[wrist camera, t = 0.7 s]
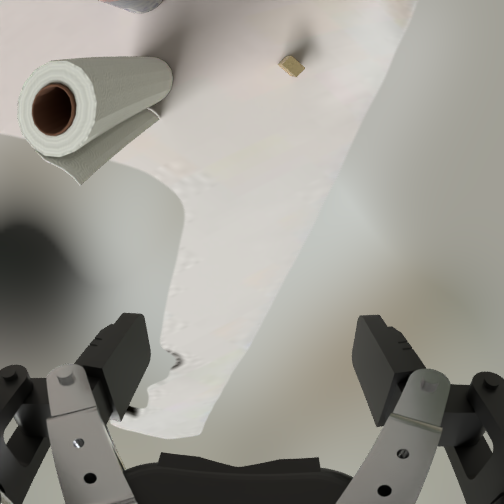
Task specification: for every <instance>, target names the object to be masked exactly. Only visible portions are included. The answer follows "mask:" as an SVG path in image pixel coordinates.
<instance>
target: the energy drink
mask: <svg viewBox="0 0 504 504" xmlns="http://www.w3.org/2000/svg"><path fill="white" fill-rule="evenodd" d="M99 1H102V2H105V3H108V4H110V5H113V6H116V7H119V8H122V9H124V10H127V11H130V12H133V13H146V12H149V11H151V10H153V9H154V8H156V7H157V6H158V5H159V4H160V3H161V2H162V0H99Z"/></svg>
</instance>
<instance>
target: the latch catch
mask: <svg viewBox="0 0 504 504" xmlns="http://www.w3.org/2000/svg"><path fill="white" fill-rule="evenodd" d="M278 65H279V66H280V67H281V68H282V69H284V70H285V71H286V72H287V73H288V74H289V75H290V76H294V77H297V76H298V75H299V74H300V73H301V72H302V71H303V70H304V69H305V67H303V66H302V65H301V64H300V63H299V62H298V61H297V60H296V59H294V58H293V57H292V56H286V57H285V58H284V59H283V60H282V61H281V62H280V63H279V64H278Z"/></svg>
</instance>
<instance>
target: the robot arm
mask: <svg viewBox="0 0 504 504" xmlns="http://www.w3.org/2000/svg"><path fill="white" fill-rule="evenodd" d="M150 356H151V353H150V345H149V340H148V334H147V329H146V323H145V318H144V316H143V315H142V314H136V313H123V314H122V315H121V316H120V317H119V319H118V320H117V321H116V322H115V323H114V324H111V325H109V326H107V327H106V328H104V329H102V330H101V331H100V332H99V333H98V335H97V336H96V337H95V339H94V340H93V341H92V342H91V343H90V346H88V347H87V348H86V349H85V351H84V352H83V353H82V354H81V356H80V357H79V358H78V360H77V361H76V362H75V363H74V364H64V365H60V366H58V367H56V368H54V369H53V370H52V371H51V372H50V373H49V374H48V376H47V378H30V376H29V374H28V372H27V370H26V368H25V367H23V366H21V365H10V366H7V367H5V368H3V369H1V370H0V504H22V503H23V500H24V498H25V496H26V494H27V492H28V490H29V488H30V486H31V483H32V481H33V479H34V477H35V475H36V473H37V471H38V469H39V467H40V465H41V463H42V461H43V459H44V457H45V455H46V453H47V451H48V449H49V447H50V445H51V449H52V454H53V458H54V462H55V467H56V471H57V474H58V479H59V483H60V486H61V490H62V493H63V497H64V500H65V503H66V504H415V503H416V501H417V498H418V496H419V494H420V492H421V489H422V487H423V484H424V482H425V479H426V477H427V474H428V472H429V469H430V466H431V463H432V460H433V458H434V455H435V452H436V449H437V446H444V448H445V450H446V452H447V455H448V457H449V459H450V462H451V464H452V467H453V469H454V472H455V474H456V477H457V479H458V482H459V485H460V487H461V490H462V492H463V495H464V498H465V501H466V503H467V504H504V379H503V378H501V376H499V375H497V374H495V373H492V372H480V373H477V374H476V375H475V376H474V377H473V379H472V382H471V384H470V385H454V384H450V381H449V379H448V378H447V377H446V376H445V375H444V374H443V373H441V372H439V371H436V370H433V369H426V367H425V366H424V364H423V363H422V361H421V360H420V358H419V357H418V356H417V354H416V353H415V351H414V350H413V349H412V347H411V345H410V344H409V343H407V340H406V338H405V337H404V336H403V334H402V333H401V332H399V331H398V330H396V329H395V328H393V327H387V325H386V324H385V322H384V321H383V319H382V318H381V316H380V315H364V316H359V318H358V321H357V328H356V333H355V339H354V345H353V350H352V362H353V367H354V369H355V372H356V374H357V377H358V379H359V382H360V384H361V387H362V390H363V392H364V395H365V398H366V400H367V403H368V406H369V408H370V411H371V414H372V416H373V419H374V421H375V424H376V426H377V427H380V426H384V427H383V429H382V430H381V432H380V434H379V436H378V438H377V439H376V441H375V443H374V445H373V447H372V448H371V450H370V452H369V453H368V455H367V457H366V458H365V460H364V462H363V463H362V465H361V466H360V468H359V470H358V471H357V473H356V474H355V476H354V477H352V476H349V475H347V474H344V473H342V472H339V471H335V470H331V469H326V468H320V463H319V458H318V457H317V458H304V459H303V458H302V459H279V460H275V461H270V462H265V463H260V464H255V465H250V466H244V467H234V466H230V465H226V464H222V463H219V462H215V461H211V460H208V459H204V458H201V457H196V456H186V455H178V454H170V453H163V452H161V455H160V458H159V461H158V462H157V463H148V464H143V465H139V466H135V467H132V468H129V469H127V470H126V468H125V466H124V464H123V462H122V460H121V458H120V456H119V453H118V451H117V449H116V447H115V444H114V442H113V440H112V437H111V435H110V432H109V430H108V428H107V426H106V424H107V422H108V420H109V419H110V420H115V421H120V422H121V421H122V419H123V416H124V414H125V412H126V410H127V408H128V406H129V404H130V402H131V399H132V397H133V395H134V393H135V391H136V389H137V387H138V385H139V383H140V381H141V379H142V377H143V375H144V373H145V371H146V369H147V367H148V364H149V362H150ZM13 417H14V419H15V421H16V422H17V424H18V427H17V429H16V430H15V431H14V433H13V435H12V436H11V438H10V439H9V441H8V443H7V444H5V442H4V438H3V434H4V430H5V428H6V427H7V425H8V424H9V422H10V421H11V419H12V418H13ZM485 431H487V432H488V435H489V436H490V438H491V440H492V442H493V453H492V451H491V450H490V448H489V446H488V444H487V442H486V440H485V438H484V436H483V434H484V433H485Z"/></svg>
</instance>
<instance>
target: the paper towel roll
mask: <svg viewBox="0 0 504 504" xmlns="http://www.w3.org/2000/svg"><path fill="white" fill-rule="evenodd" d="M172 82H173V76H172V71H171V69H170V67H169V66H168V65H167V63H166V62H164V61H163V60H161V59H159V58H155V57H91V58H76V59H64V60H54V61H50V62H48V63H46V64H44V65H43V66H41V67H39V68H37V69H35V71H34V72H33V73H32V74H31V75H30V77H29V78H28V79H27V80H26V82H25V83H24V85H23V88H22V91H21V93H20V96H19V99H18V113H17V119H18V122H19V126H20V129H21V132H22V135H23V136H24V138H25V139H26V140H27V142H28V143H29V144H30V145H31V147H32V148H33V149H34V150H35V151H36V152H37V153H38V154H39V155H40V157H41V158H42V159H43V160H44V161H46V162H48V163H50V164H52V165H55V166H57V167H59V168H61V169H63V170H64V171H65V172H67V173H68V174H69V175H70V176H72V177H73V178H74V179H75V180H76V182H77V183H78V184H79V185H80V186H81V185H82V184H83V183H84V182H85V181H86V180H87V179H88V178H89V177H90V176H91V175H93V173H95V172H96V171H97V170H98V169H99V168H100V167H101V166H103V165H104V164H105V163H106V162H107V161H108V160H109V159H111V158H112V157H113V156H114V155H115V154H116V153H118V152H119V151H120V150H121V149H122V148H124V147H125V146H126V145H127V144H129V143H130V142H131V141H132V140H134V139H135V138H136V137H137V136H139V135H140V134H141V133H142V132H144V131H145V130H146V129H148V128H149V127H150V126H151V125H153V124H154V123H155V122H157V121H158V120H159V118H158V116H157V115H156V114H154V113H153V112H152V111H151V110H149V109H147V108H148V107H150V106H152V105H154V104H156V103H158V102H159V101H161V100H162V99H163V98H165V97H166V96H167V94H168V93H169V91H170V90H171V87H172Z"/></svg>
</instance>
